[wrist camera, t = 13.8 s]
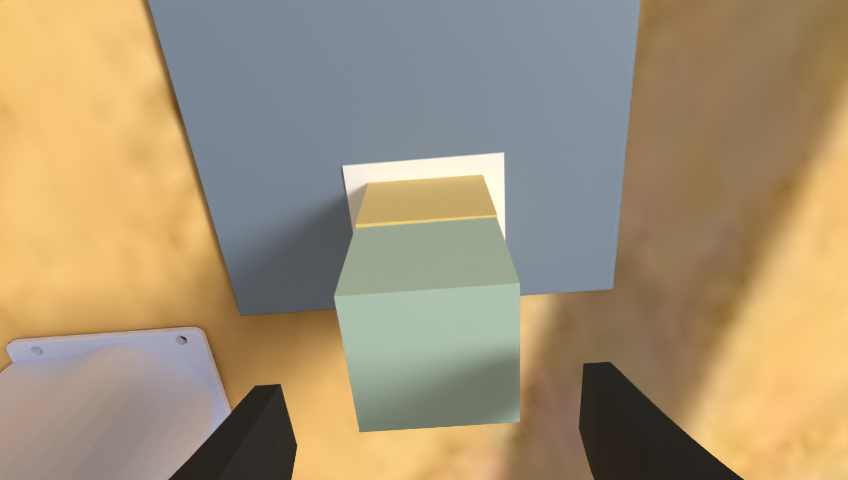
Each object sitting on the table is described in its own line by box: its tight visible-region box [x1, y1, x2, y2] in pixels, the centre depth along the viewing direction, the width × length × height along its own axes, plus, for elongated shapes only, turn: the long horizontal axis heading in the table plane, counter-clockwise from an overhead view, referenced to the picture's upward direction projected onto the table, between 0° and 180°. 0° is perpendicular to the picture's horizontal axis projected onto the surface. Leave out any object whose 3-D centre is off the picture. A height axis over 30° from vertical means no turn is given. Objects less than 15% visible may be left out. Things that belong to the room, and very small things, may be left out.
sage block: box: [334, 217, 520, 432], centre depth 15 cm, size 5×5×4 cm
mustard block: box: [355, 174, 497, 228], centre depth 19 cm, size 5×5×4 cm
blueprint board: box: [148, 0, 641, 316], centre depth 19 cm, size 17×17×1 cm
